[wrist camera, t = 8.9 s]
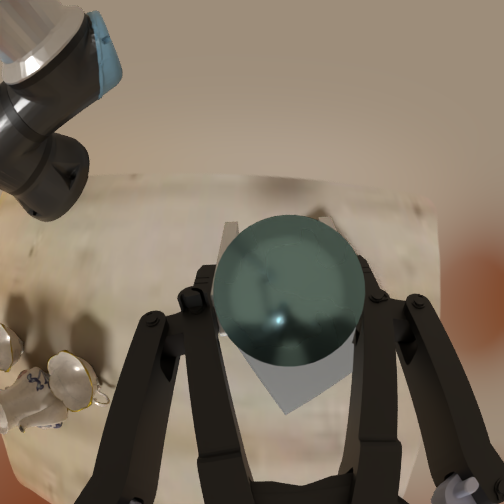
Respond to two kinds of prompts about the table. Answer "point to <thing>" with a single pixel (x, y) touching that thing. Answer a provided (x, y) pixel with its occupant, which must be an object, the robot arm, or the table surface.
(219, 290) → the teal cylinder
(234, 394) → the table surface
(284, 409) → the socket block
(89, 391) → the chinaware
